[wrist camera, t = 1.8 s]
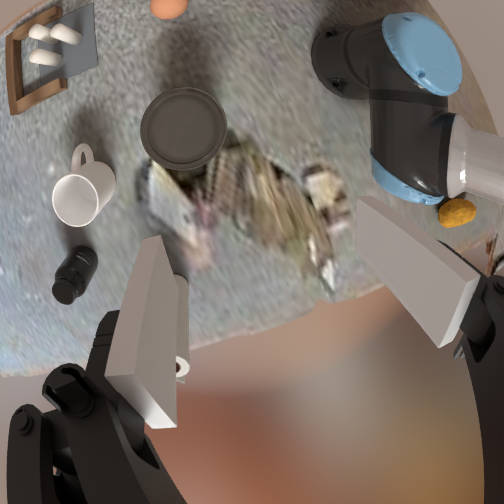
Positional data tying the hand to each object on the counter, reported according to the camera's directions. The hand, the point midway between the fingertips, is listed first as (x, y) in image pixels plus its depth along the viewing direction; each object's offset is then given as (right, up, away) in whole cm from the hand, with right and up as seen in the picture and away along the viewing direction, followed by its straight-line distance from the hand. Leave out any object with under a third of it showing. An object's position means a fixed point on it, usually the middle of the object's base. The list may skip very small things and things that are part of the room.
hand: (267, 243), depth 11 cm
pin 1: (-35, +37, +15) cm, 53 cm away
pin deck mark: (-33, +35, +17) cm, 51 cm away
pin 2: (-34, +33, +18) cm, 51 cm away
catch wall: (-39, +34, +16) cm, 54 cm away
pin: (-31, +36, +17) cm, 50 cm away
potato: (+52, +12, +48) cm, 71 cm away
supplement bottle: (-35, -2, +37) cm, 51 cm away
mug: (-28, +14, +30) cm, 44 cm away
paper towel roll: (-17, -8, +45) cm, 48 cm away
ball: (-13, +38, +16) cm, 43 cm away
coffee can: (-11, +21, +30) cm, 38 cm away
